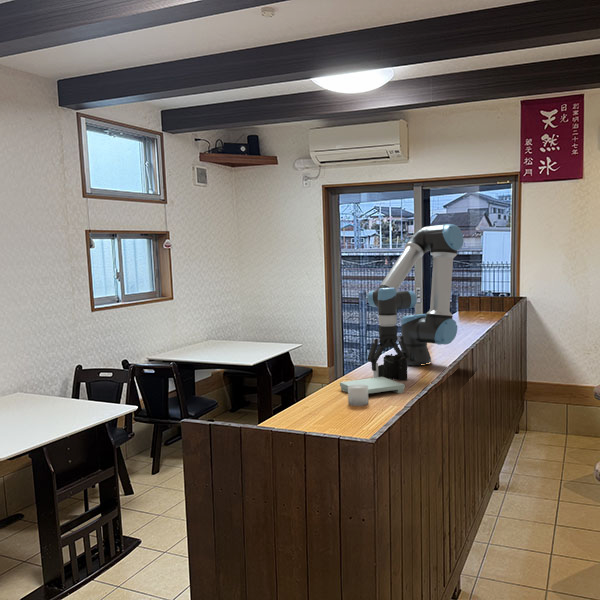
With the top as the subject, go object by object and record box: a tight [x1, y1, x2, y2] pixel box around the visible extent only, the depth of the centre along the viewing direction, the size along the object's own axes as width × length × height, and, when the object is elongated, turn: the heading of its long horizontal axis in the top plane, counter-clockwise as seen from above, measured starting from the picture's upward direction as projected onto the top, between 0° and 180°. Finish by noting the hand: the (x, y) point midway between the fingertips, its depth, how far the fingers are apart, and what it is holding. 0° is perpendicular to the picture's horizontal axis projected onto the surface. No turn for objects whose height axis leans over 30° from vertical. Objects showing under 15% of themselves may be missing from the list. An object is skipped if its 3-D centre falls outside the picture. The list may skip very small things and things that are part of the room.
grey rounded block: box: [347, 384, 369, 407], centre depth 196 cm, size 7×7×6 cm
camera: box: [378, 353, 409, 382], centre depth 233 cm, size 14×11×10 cm
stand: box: [339, 377, 406, 395], centre depth 213 cm, size 19×16×3 cm
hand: (388, 376), depth 233 cm, fingers open, 12 cm apart
